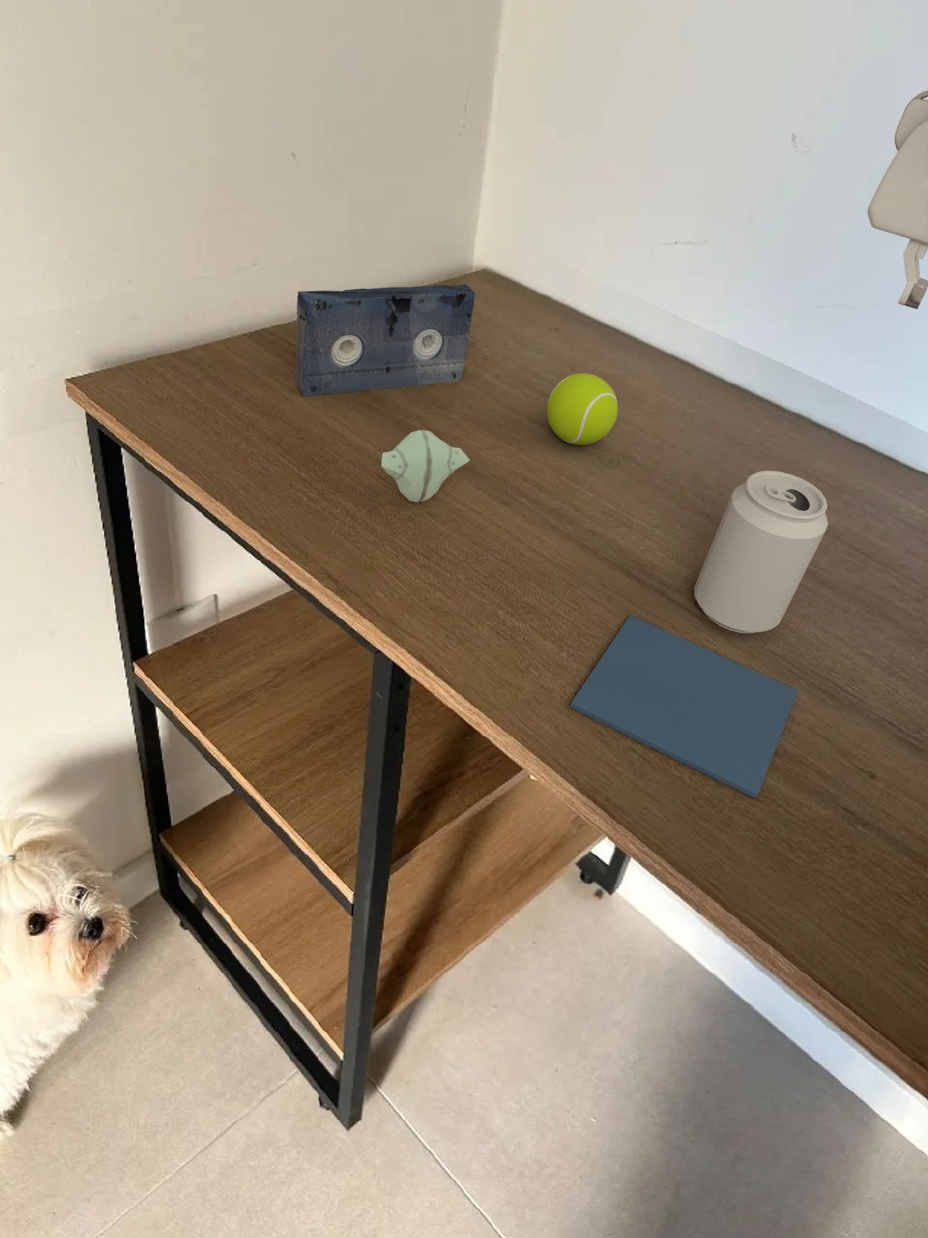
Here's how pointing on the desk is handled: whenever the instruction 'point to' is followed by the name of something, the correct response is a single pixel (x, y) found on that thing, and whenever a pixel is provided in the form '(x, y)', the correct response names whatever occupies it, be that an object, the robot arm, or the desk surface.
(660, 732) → the mat
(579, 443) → the tennis ball
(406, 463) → the striped green spinning top
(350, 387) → the vhs cassette tape
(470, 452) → the desk surface
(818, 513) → the can
